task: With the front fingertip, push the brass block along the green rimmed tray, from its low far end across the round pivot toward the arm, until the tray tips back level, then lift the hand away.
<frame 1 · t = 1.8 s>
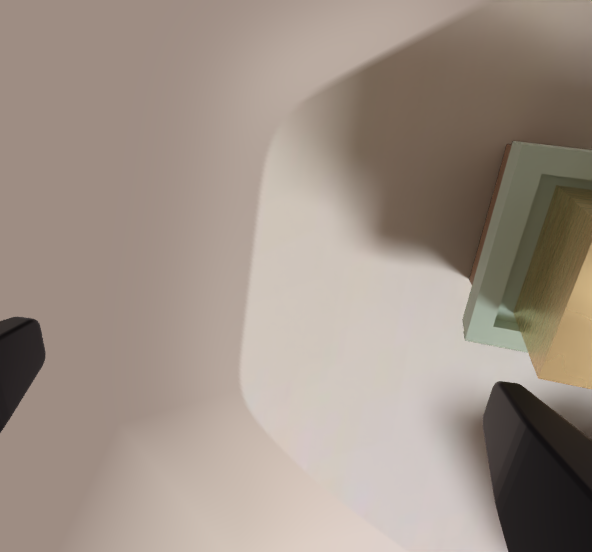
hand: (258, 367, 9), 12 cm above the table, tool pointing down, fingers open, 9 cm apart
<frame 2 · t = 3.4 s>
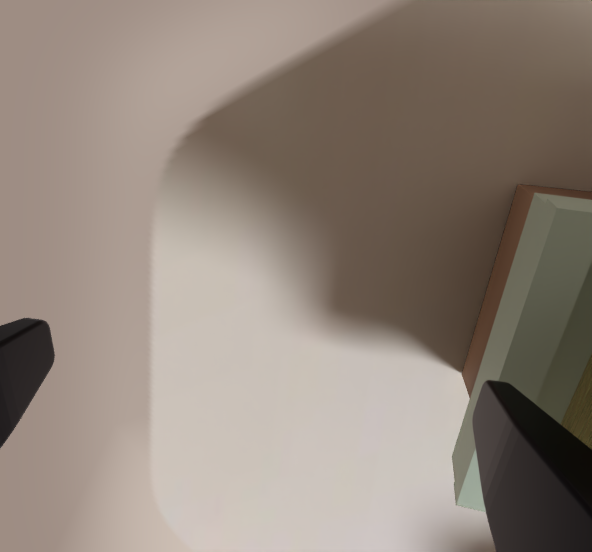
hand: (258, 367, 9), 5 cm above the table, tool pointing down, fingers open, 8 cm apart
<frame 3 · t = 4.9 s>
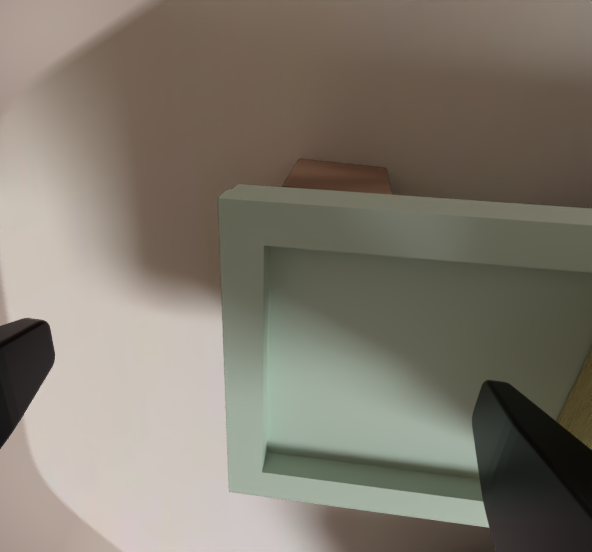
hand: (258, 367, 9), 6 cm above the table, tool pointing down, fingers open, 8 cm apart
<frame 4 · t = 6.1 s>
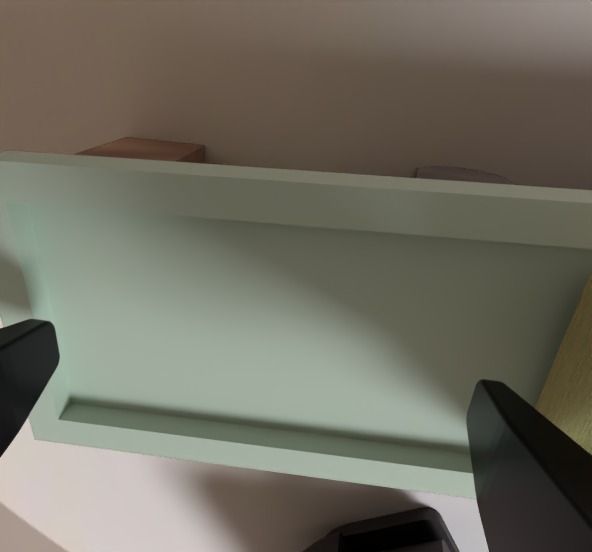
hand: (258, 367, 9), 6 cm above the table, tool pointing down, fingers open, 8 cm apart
green rimmed tray: (446, 332, 11), point 4 cm above the table, touching beam stand, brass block
beam stand: (418, 266, 14), on the table
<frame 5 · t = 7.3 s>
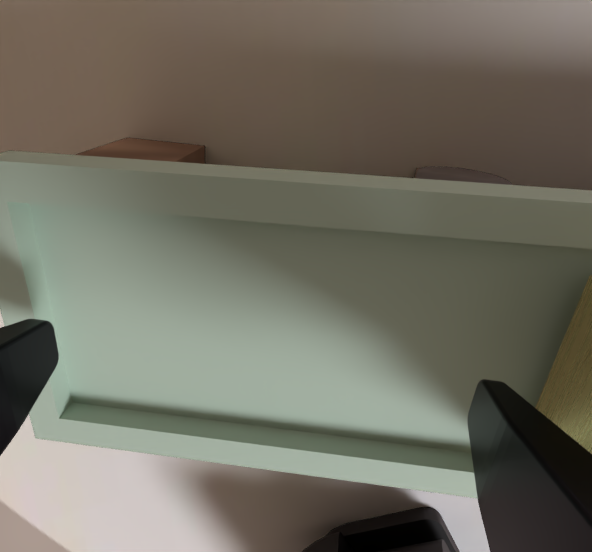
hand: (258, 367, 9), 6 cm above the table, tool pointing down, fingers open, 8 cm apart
green rimmed tray: (445, 332, 11), point 4 cm above the table, touching beam stand, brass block
beam stand: (417, 266, 14), on the table
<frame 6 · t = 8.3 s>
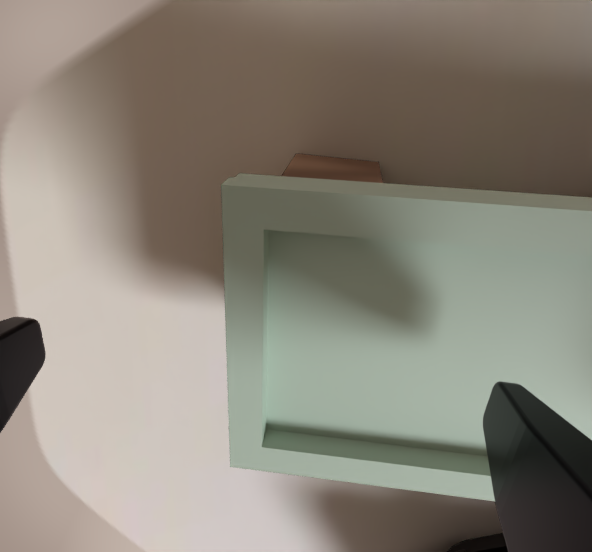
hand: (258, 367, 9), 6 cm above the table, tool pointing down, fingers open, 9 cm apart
beam stand: (587, 284, 14), on the table
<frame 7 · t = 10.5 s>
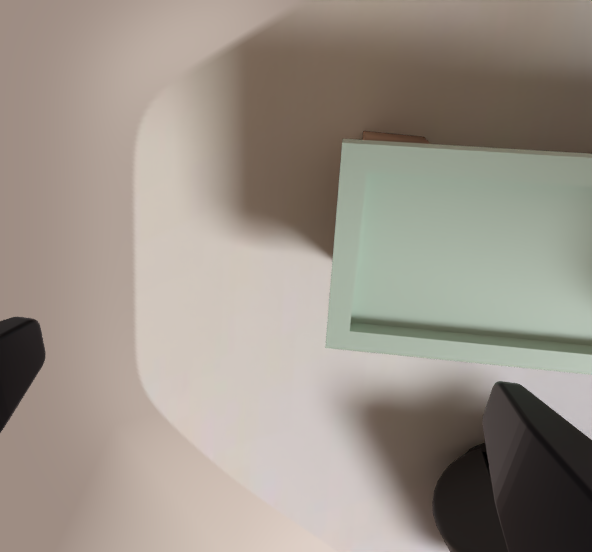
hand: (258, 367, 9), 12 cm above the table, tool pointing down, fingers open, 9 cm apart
end cap: (512, 493, 26), on the table
beam stand: (575, 227, 19), on the table
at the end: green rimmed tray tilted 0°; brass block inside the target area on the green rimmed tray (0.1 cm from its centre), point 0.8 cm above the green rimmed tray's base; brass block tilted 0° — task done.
